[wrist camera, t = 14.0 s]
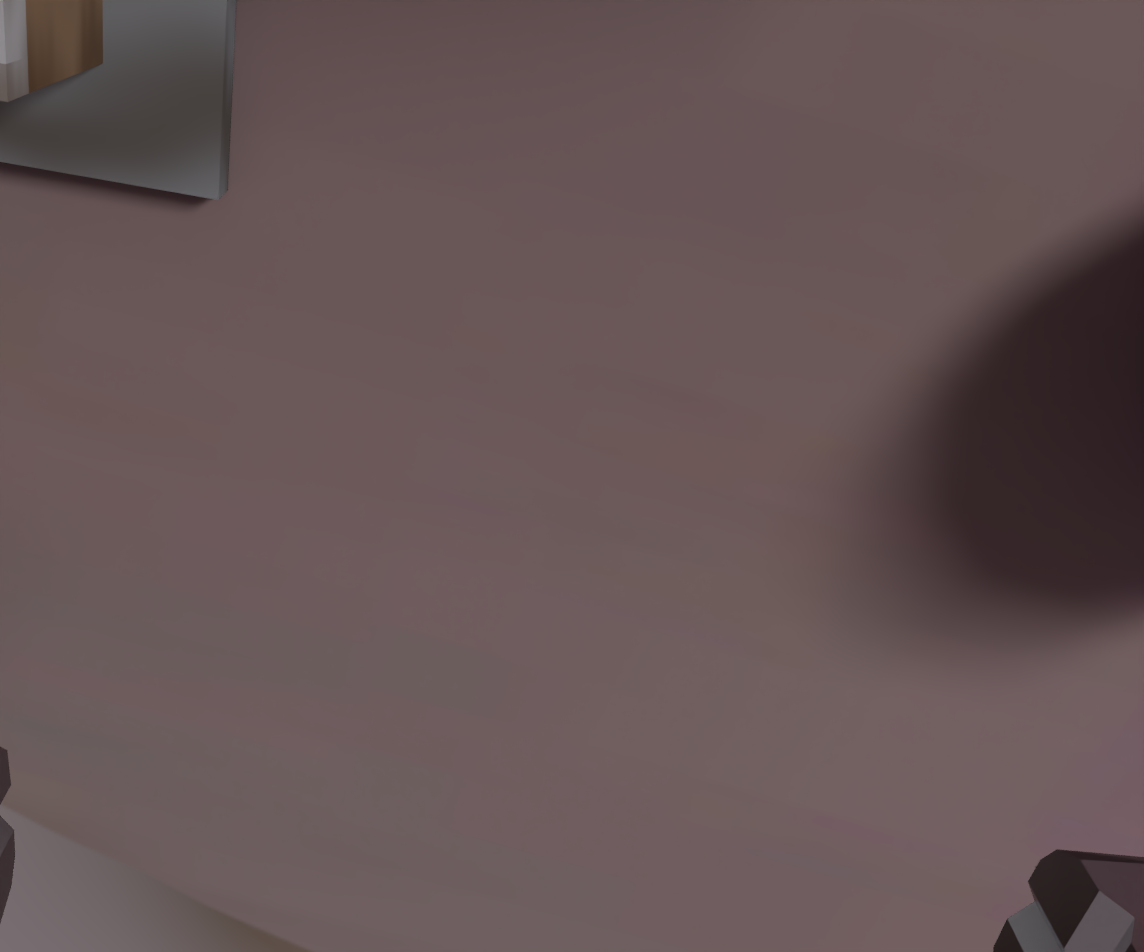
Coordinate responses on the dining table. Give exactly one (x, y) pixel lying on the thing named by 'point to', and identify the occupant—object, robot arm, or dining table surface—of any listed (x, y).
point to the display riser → (120, 90)
